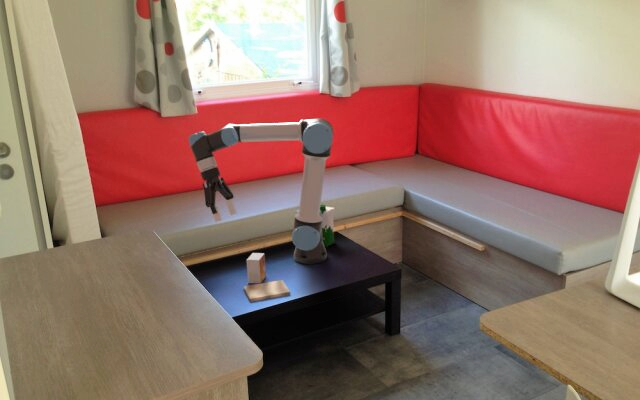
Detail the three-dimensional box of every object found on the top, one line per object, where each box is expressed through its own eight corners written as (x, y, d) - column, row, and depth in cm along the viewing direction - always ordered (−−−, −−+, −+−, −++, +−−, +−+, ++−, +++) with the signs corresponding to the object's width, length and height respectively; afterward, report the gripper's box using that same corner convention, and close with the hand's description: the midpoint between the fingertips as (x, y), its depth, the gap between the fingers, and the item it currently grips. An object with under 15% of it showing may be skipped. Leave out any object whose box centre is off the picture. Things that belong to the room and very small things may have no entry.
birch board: (282, 282, 227) (282, 279, 226) (290, 294, 216) (290, 291, 215) (244, 289, 222) (243, 286, 222) (250, 301, 211) (250, 298, 211)
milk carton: (312, 245, 267) (310, 205, 261) (322, 239, 274) (321, 201, 268) (327, 248, 262) (326, 208, 256) (337, 242, 269) (336, 203, 264)
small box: (260, 284, 226) (259, 260, 223) (247, 283, 227) (246, 259, 224) (266, 276, 234) (265, 253, 231) (253, 275, 235) (252, 252, 232)
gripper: (215, 168, 240) (232, 214, 241) (185, 176, 216) (204, 226, 218) (230, 163, 237) (246, 209, 239) (201, 170, 214) (220, 221, 215)
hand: (226, 217), depth 228 cm, fingers open, 13 cm apart
